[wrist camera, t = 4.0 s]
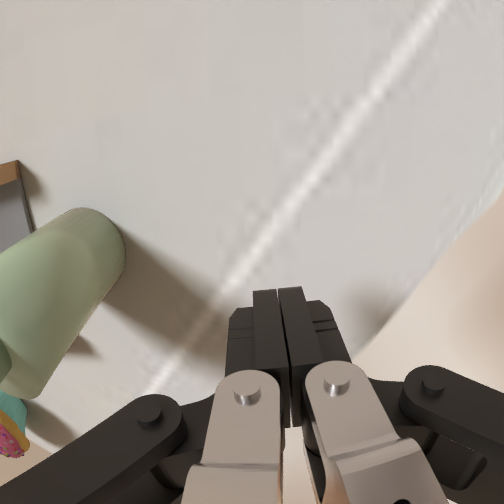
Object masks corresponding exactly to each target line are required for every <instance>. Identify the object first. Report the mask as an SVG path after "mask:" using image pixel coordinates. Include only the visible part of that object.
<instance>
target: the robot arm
mask: <svg viewBox="0 0 504 504" xmlns="http://www.w3.org/2000/svg"><path fill="white" fill-rule="evenodd" d="M278 302H279V303H278ZM290 409H291V416H292V424H293V427H299V426H302V431H303V437H304V441H303V450H304V455H305V459H306V463H307V467H308V471H309V475H310V479H311V483H312V487H313V491H314V495H315V499H316V503H317V504H449V502H448V500H447V499H449V500H451V501H453V502H456V503H457V504H504V393H501V392H499V391H497V390H494V389H492V388H490V387H487V386H485V385H483V384H480V383H478V382H476V381H473V380H471V379H468V378H466V377H464V376H461V375H459V374H456V373H454V372H452V371H450V370H447V369H445V368H442V367H439V366H433V365H426V366H421V367H418V368H415V369H414V370H412V371H411V372H410V373H409V374H408V375H407V376H406V378H405V381H404V382H396V381H380V380H374V379H371V378H368V377H367V376H366V374H365V372H364V371H363V370H362V369H361V368H359V367H358V366H356V365H354V364H352V362H351V359H350V357H349V354H348V352H347V349H346V347H345V344H344V342H343V339H342V337H341V334H340V332H339V330H338V327H337V324H336V322H335V321H334V317H333V314H332V312H331V310H330V308H329V307H328V306H326V305H325V304H324V303H323V302H321V301H320V300H316V301H307V302H306V299H305V296H304V293H303V290H302V287H301V286H299V287H289V288H279V289H278V297H277V291H276V289H269V290H259V291H253V307H246V308H237V309H236V310H235V312H234V313H233V314H232V316H231V317H230V318H229V332H228V342H227V355H226V368H225V378H224V379H223V380H222V381H221V382H220V383H219V384H218V386H217V388H216V391H215V393H214V394H213V395H211V396H210V397H208V398H206V399H204V400H201V401H198V402H194V403H191V404H187V405H183V406H179V405H178V403H177V402H176V401H175V400H173V399H172V398H170V397H168V396H165V395H160V394H150V395H145V396H142V397H139V398H137V399H135V400H133V401H132V402H130V403H129V404H127V405H126V406H125V407H123V408H122V409H120V410H119V411H117V412H116V413H114V414H113V415H112V416H110V417H109V418H107V419H106V420H104V421H103V422H101V423H100V424H98V425H97V426H95V427H94V428H92V429H91V430H90V431H88V432H87V433H85V434H84V435H82V436H81V437H79V438H77V439H76V440H74V441H73V442H71V443H70V444H68V445H67V446H65V447H64V448H62V449H61V450H59V451H58V452H56V453H54V454H53V455H51V456H50V457H49V458H47V459H45V460H44V461H42V462H40V463H39V464H37V465H35V466H34V467H32V468H31V469H29V470H27V471H26V472H24V473H22V474H21V475H19V476H18V477H16V478H14V479H12V480H11V481H9V482H7V483H6V484H4V485H2V486H1V487H0V504H283V451H284V448H285V428H290ZM450 439H451V440H450ZM452 440H453V441H452ZM454 441H455V442H454ZM469 448H470V449H469Z"/></svg>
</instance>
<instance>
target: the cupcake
mask: <svg viewBox="0 0 504 504" xmlns="http://www.w3.org/2000/svg"><path fill="white" fill-rule="evenodd" d="M26 417H27V409H26V406H25V405H24V403H23V402H22V401H21V399H20V398H16V397H13V396H11V395H9V394H7V393H5V392H3V391H1V390H0V454H1V455H4V456H6V457H13V458H17V457H20V456H24V453H25V452H26V451H27V450H28V449H29V447H30V443H29V440H28V439H27V438H26V436H25V423H26Z"/></svg>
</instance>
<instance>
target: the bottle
mask: <svg viewBox="0 0 504 504" xmlns="http://www.w3.org/2000/svg"><path fill="white" fill-rule="evenodd" d="M125 260H126V253H125V246H124V243H123V240H122V237H121V235H120V233H119V231H118V229H117V228H116V227H115V225H114V224H113V223H112V222H111V221H110V220H109V219H108V218H107V217H106V216H104V215H103V214H101V213H100V212H98V211H96V210H93V209H89V208H75V209H72V210H69V211H67V212H66V213H64V214H62V215H60V216H59V217H57V218H55V219H54V220H52V221H50V222H49V223H47V224H45V225H44V226H42V227H40V228H39V229H37V230H36V231H34V232H32V233H31V234H29V235H28V236H26V237H25V238H23V239H21V240H20V241H18V242H17V243H15V244H14V245H12V246H11V247H9V248H8V249H6V250H5V251H3V252H2V253H0V390H1V391H3V392H5V393H7V394H9V395H11V396H13V397H16V398H20V399H34V398H36V397H38V396H39V395H40V393H41V392H42V390H43V388H44V387H45V385H46V384H47V382H48V380H49V379H50V377H51V376H52V374H53V372H54V371H55V369H56V368H57V366H58V364H59V363H60V361H61V360H62V358H63V357H64V355H65V354H66V352H67V351H68V349H69V348H70V346H71V345H72V343H73V342H74V340H75V339H76V337H77V336H78V334H79V333H80V331H81V330H82V328H83V327H84V325H85V324H86V323H87V321H88V320H89V318H90V317H91V315H92V314H93V313H94V311H95V310H96V308H97V307H98V306H99V304H100V303H101V302H102V300H103V299H104V297H105V296H106V295H107V293H108V292H109V291H110V289H111V288H112V287H113V285H114V284H115V282H116V281H117V280H118V279H119V277H120V276H121V274H122V272H123V269H124V266H125Z"/></svg>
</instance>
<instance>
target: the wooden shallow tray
mask: <svg viewBox="0 0 504 504" xmlns="http://www.w3.org/2000/svg"><path fill="white" fill-rule="evenodd" d="M32 232H33V229H32V225H31V221H30V217H29V213H28V208H27V204H26V200H25V195H24V190H23V185H22V180H21V174H20V169H19V163H18V160H16V161H12V162H8V163H5V164H1V165H0V253H2V252H3V251H5V250H6V249H8V248H9V247H11V246H12V245H14V244H15V243H17V242H18V241H20V240H21V239H23V238H25V237H26V236H28V235H29V234H31V233H32Z"/></svg>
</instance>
